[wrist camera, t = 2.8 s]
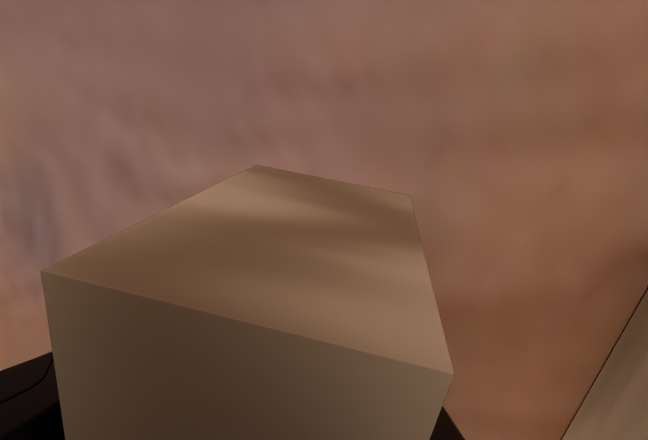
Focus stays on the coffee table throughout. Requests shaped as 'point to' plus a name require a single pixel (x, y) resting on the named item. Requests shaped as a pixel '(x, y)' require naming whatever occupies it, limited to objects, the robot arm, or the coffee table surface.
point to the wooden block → (253, 319)
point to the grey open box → (619, 389)
